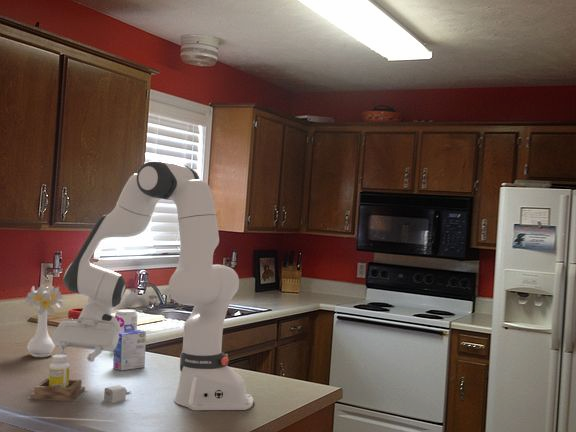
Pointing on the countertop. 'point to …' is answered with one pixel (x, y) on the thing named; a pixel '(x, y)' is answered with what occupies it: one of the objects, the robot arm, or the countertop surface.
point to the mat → (63, 400)
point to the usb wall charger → (115, 394)
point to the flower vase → (43, 318)
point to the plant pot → (74, 313)
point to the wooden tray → (58, 390)
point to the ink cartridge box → (130, 349)
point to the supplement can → (126, 318)
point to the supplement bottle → (59, 372)
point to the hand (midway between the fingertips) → (75, 358)
